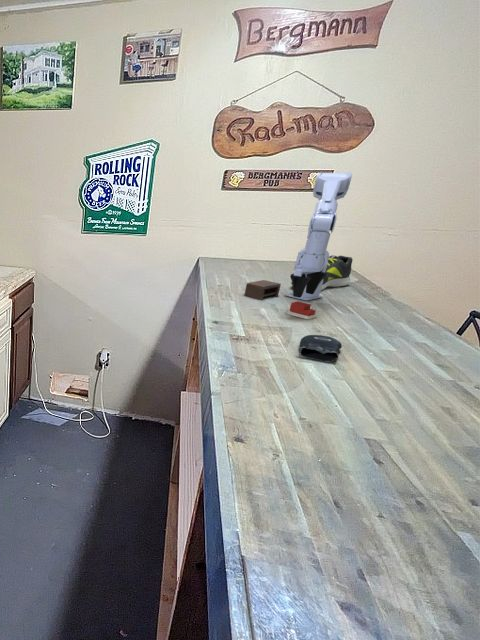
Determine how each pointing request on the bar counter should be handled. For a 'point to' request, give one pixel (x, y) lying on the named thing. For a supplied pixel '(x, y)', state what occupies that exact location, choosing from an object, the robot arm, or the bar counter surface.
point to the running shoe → (337, 271)
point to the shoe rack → (262, 289)
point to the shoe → (301, 310)
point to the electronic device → (319, 348)
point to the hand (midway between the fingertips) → (303, 295)
